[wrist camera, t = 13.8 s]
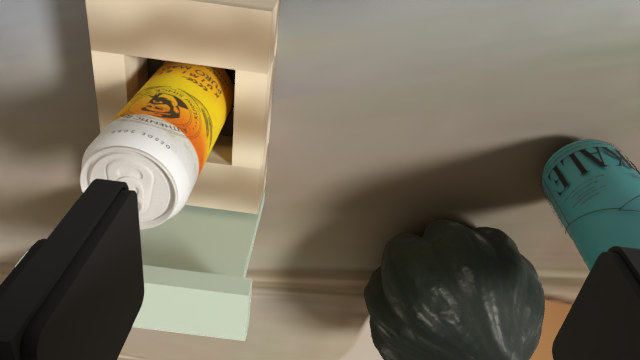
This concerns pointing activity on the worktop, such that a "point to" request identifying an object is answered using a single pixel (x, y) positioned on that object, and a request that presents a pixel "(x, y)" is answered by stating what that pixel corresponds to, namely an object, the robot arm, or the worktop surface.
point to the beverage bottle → (594, 196)
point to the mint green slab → (198, 272)
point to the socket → (201, 49)
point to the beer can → (162, 138)
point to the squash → (455, 296)
